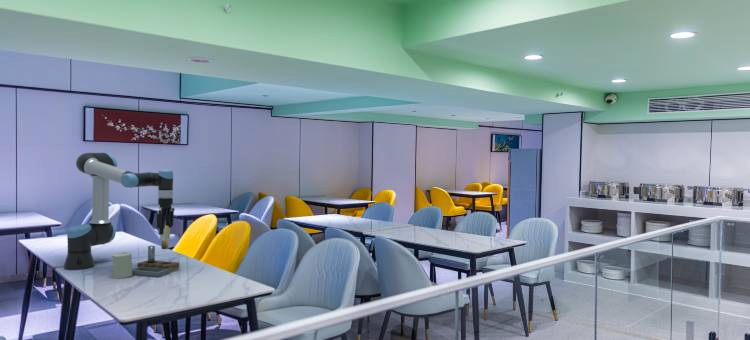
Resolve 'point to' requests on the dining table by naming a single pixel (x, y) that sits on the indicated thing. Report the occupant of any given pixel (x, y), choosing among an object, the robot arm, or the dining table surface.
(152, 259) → the steel pin
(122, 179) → the robot arm
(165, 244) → the brass pin
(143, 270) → the tray
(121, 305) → the dining table surface
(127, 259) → the can
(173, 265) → the block
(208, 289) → the dining table surface
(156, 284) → the dining table surface
